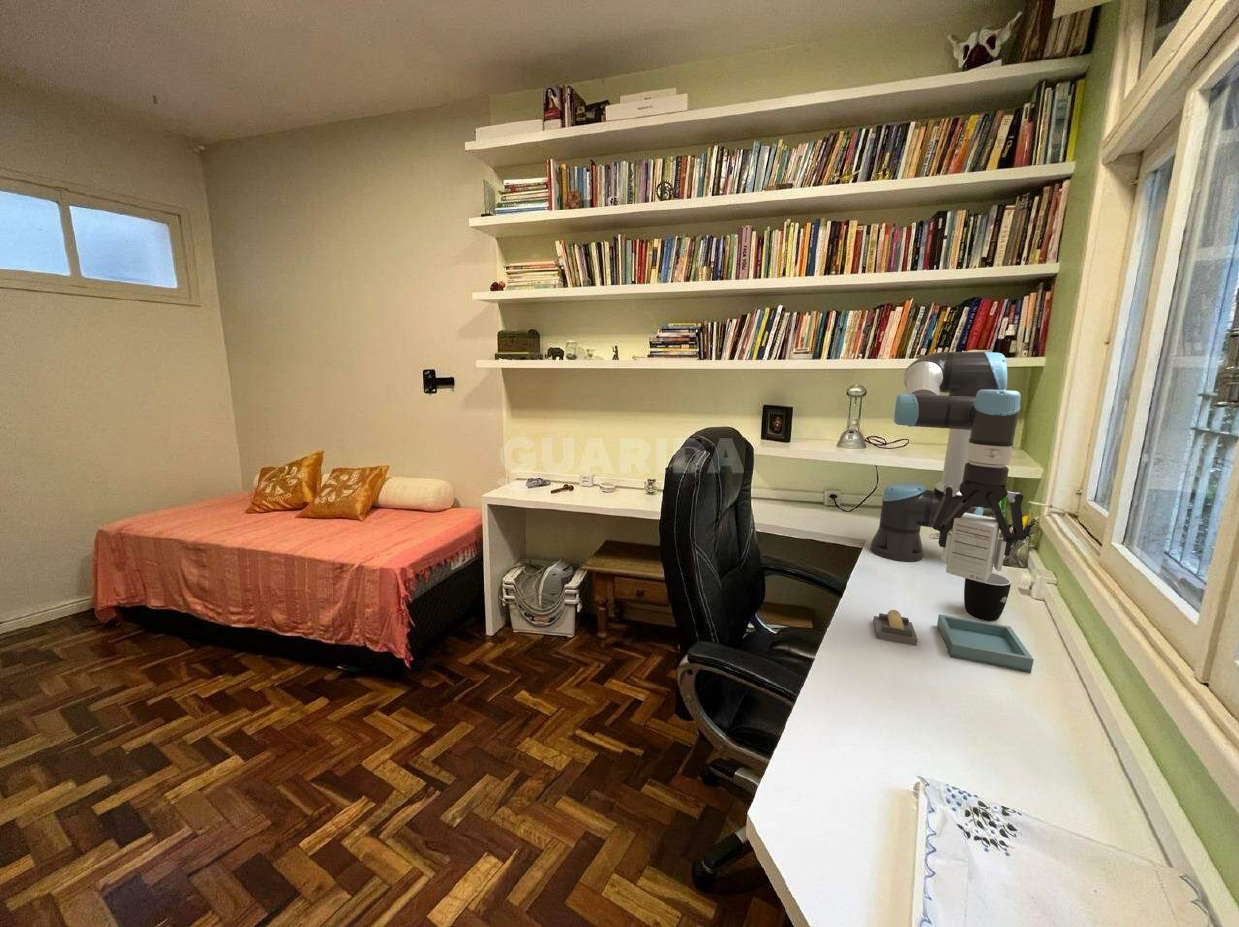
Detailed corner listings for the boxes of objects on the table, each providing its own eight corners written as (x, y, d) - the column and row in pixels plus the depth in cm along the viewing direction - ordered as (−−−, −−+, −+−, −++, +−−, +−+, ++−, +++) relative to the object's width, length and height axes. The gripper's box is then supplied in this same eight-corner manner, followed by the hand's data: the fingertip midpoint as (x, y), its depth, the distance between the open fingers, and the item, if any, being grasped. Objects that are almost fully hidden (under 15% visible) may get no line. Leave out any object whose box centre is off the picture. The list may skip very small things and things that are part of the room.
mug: (1001, 628, 119) (1008, 588, 117) (956, 615, 125) (963, 577, 123) (1007, 610, 128) (1014, 573, 126) (965, 599, 133) (971, 563, 131)
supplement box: (953, 564, 115) (962, 511, 113) (992, 574, 110) (1002, 519, 108) (944, 572, 111) (953, 517, 108) (984, 583, 105) (995, 526, 103)
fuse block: (873, 621, 121) (875, 604, 120) (910, 628, 118) (913, 611, 117) (876, 638, 114) (878, 620, 113) (916, 646, 111) (919, 627, 110)
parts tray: (936, 625, 120) (938, 614, 119) (1008, 638, 115) (1010, 626, 114) (950, 657, 107) (952, 644, 106) (1031, 672, 102) (1033, 659, 101)
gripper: (929, 462, 106) (915, 562, 111) (1058, 472, 98) (1038, 580, 102) (924, 456, 113) (911, 551, 118) (1044, 465, 105) (1025, 567, 109)
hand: (970, 564), depth 110 cm, fingers closed on supplement box, 9 cm apart
